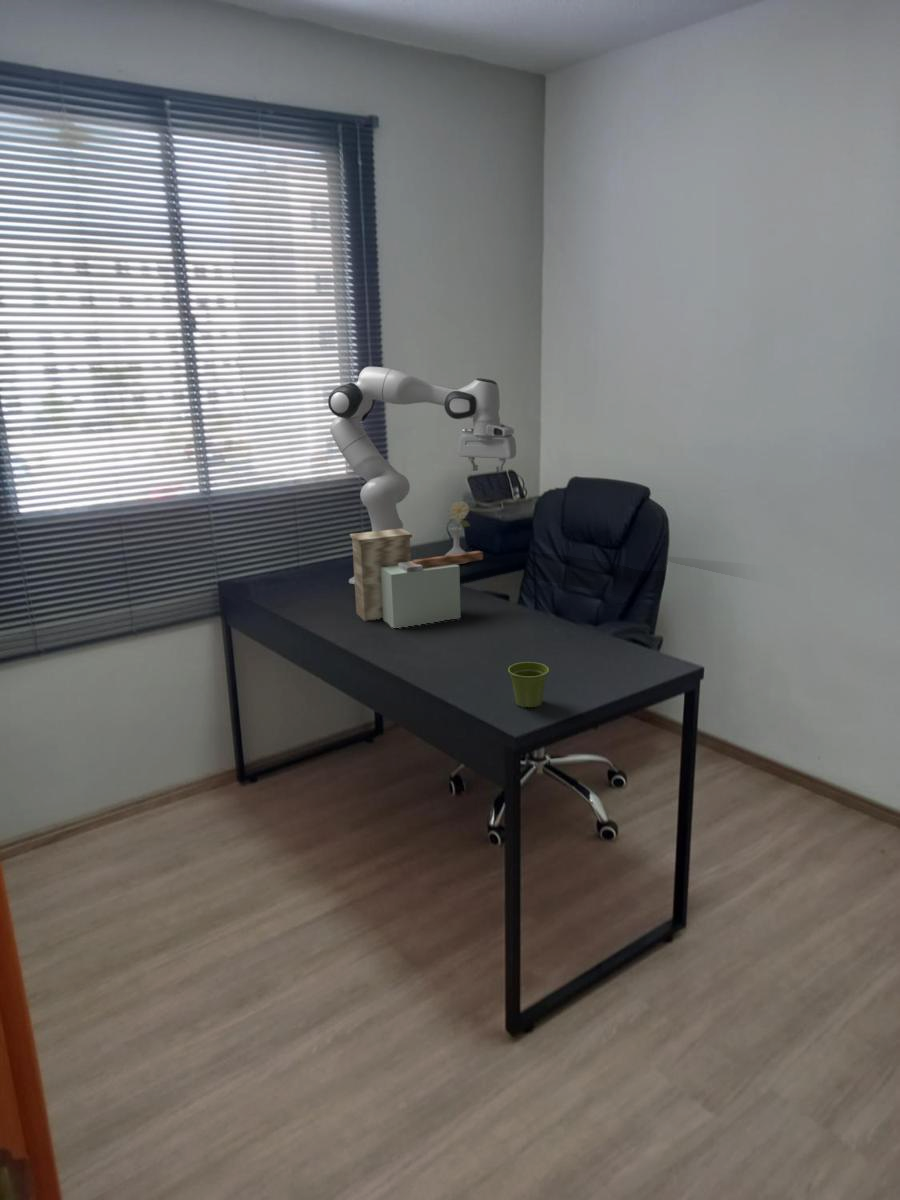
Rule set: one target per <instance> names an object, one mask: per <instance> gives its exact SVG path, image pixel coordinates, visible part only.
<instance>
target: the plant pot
mask: <svg viewBox="0 0 900 1200" xmlns="http://www.w3.org/2000/svg"><path fill="white" fill-rule="evenodd" d="M507 671H508V673H509V675H510V678H511V682H512V688H513V693H514V699H515V704H516V706H518V705H519V706H518V707H520V706H521V707H520V708H523V707H528V708H533V707H535V708H538V707H540V706H541V705H542V704H543V698H544V697H543V695H544V689H545V683H546V678H547V675H548V674H549V671H550V669H549V667H548V666H547V665H546V664H544V663H540V662H534V661H533V662H532V661H524V662H517V663H514V664H511V665H510V666H509V667H508V669H507ZM537 706H538V707H537Z"/></svg>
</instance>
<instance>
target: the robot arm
mask: <svg viewBox="0 0 900 1200" xmlns="http://www.w3.org/2000/svg"><path fill="white" fill-rule="evenodd" d="M500 398H501V397H500V389H499V385H498V383H497V382H496V381H495V380H494V379H493V380H492V379H487V378H481V377H480V378H479V377H478V378H475V379H474V380H473V381H472V382H470V383H469V384H466V385H465V386H463V387H461V388H450V387H446V386H443V385H438V384H435V383H431V382H428V381H425V380H422V379H420V378H418V377H415V376H412V375H410V374H407V373H405V372H402V371H400V370H396V369H392V368H388V367H382V366H365V367H364V368H362V370H361V371H360V372H359V375H358V378H357V382H355V383H353V382H349V383H346V384H343V385H339V386H338V387H336V388H334V389H333V390H332V391H331V392H330V394H329V396H328V398H327V399H328V401H327V404H328V408H329V411H330V412H331V413H332V414H333V415H335V416H336V418H335V419H334V420H333V421H332V422H331V424H330V427H329V431H330V434H331V437H332V438H333V441H334V442H335V445H336V446H337V448H338V450H339V452H341V455H342V456H343V457H344V459H345V460H346V462H347V464H348V465H349V466H350V468H351V469H352V471H353V472H354V473H355V474H356V475H359V476H360V477H361V478H363V479H364V480H365V481H366V483H365V484H363V486H362V487H361V490H360V494H359V495H360V501H361V503H362V504H363V506H364V507H365V508H366V510H367V513H368V516H369V520H370V525H371V532H373V531H382V530H392V529H403V530H404V524H403V521H402V520H401V518H400V516H399V513H398V509H397V504H399V503H401V502H402V501H404V500H405V498H406V497H407V496H408V495H409V493H410V490H411V489H410V486H411V485H410V484H411V483H410V481H409V479H408V478H407V476H405V475H404V474H403V473H401V472H399V471H397V470H396V468H395V467H393V465H391V464H390V463H389V462H388V461H387V460H386V459H385V458H384V457H383V455H382V454H381V453H380V451H379V450H378V449H377V446H375V444H374V443H373V441H372V440H371V438H370V437H369V436H368V434H367V432H366V431H365V429H364V427H363V425H362V422H364V421H366V419H367V417H368V416H369V414H370V413H371V412H372V410H373V408H375V405H376V400H377V401H381V402H384V403H388V404H392V405H405V406H406V405H412V404H417V403H418V404H420V403H427V404H429V403H430V404H434V405H435V404H436V405H439V406H443V407H444V410H445V413H446V414H447V415H448V417H450V418H452V419H455V420H464V419H469V418H470V419H471V418H472V428H468V429H467V428H463V429H462V430H461V429H460V431H459V433H458V439H459V442H458V455H459V456H460V457H461V458H468V459H467V460H468V462H469V465H470V467H471V471H473V472H477V471H478V467H479V466H478V465H477V464H476V463H475V460H476V458H482V459H483V458H484V459H498V461H499V464H498V466H495V467H496V472H497V473H503V469H504V466H505V463H506V462H507V460H511V459H514V458H515V457H516V455H517V444H516V439H515V437H514V436H513V435H514V432H515V430H514V428H513V427H511V426H508V425H506V424H503V423H501V418H500V413H499V411H500V407H501V404H500V403H501V401H500V400H501V399H500ZM348 583H349V584H352V585H355V579H354V576H352V577H351V578H349V579H348Z"/></svg>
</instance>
